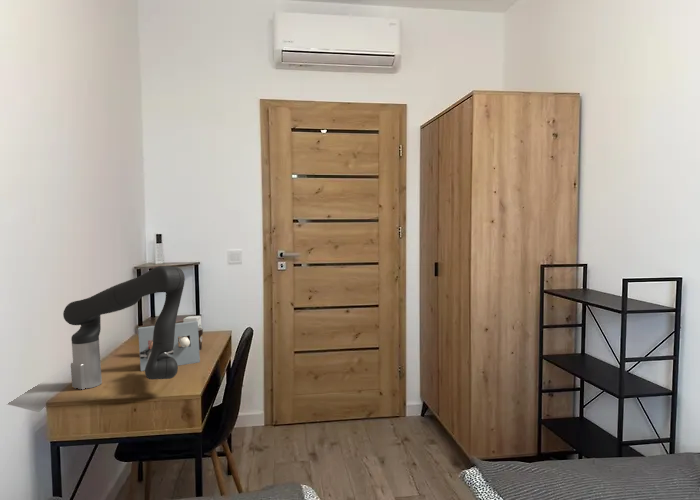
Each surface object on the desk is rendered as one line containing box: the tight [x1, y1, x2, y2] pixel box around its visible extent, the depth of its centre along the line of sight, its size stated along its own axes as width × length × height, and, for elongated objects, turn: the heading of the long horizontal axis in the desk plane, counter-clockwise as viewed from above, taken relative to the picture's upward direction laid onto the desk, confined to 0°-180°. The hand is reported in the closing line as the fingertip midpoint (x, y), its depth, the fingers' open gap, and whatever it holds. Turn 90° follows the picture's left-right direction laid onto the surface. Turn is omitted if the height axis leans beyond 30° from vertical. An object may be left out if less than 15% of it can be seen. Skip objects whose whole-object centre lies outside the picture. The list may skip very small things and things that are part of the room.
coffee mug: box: [187, 327, 204, 351], centre depth 234 cm, size 12×9×10 cm
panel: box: [137, 321, 201, 372], centre depth 208 cm, size 9×24×18 cm, turn 115°
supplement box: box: [182, 315, 202, 328], centre depth 253 cm, size 7×7×13 cm
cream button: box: [178, 336, 190, 347], centre depth 207 cm, size 6×4×4 cm, turn 25°
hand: (155, 348), depth 197 cm, fingers closed
